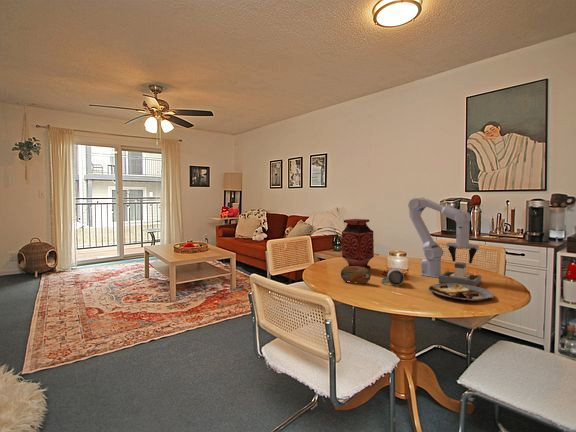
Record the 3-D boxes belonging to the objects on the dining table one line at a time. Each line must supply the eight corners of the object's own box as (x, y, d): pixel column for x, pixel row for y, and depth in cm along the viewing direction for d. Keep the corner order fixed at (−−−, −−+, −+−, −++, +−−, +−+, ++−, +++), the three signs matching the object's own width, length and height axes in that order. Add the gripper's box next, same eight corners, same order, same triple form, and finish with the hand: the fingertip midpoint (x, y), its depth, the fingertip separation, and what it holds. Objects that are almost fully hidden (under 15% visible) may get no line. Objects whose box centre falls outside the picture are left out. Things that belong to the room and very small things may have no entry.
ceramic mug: (401, 281, 163) (401, 266, 162) (404, 286, 155) (404, 270, 154) (380, 281, 165) (380, 266, 165) (381, 285, 157) (381, 270, 157)
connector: (454, 281, 159) (454, 263, 158) (456, 279, 162) (457, 262, 161) (463, 282, 156) (463, 264, 155) (465, 281, 159) (465, 263, 158)
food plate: (457, 306, 126) (457, 297, 125) (417, 290, 148) (417, 283, 148) (505, 300, 133) (505, 292, 133) (460, 286, 155) (460, 279, 155)
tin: (340, 281, 165) (340, 265, 164) (342, 280, 167) (342, 264, 167) (370, 284, 158) (370, 268, 158) (371, 283, 161) (371, 266, 161)
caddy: (438, 282, 160) (438, 275, 159) (446, 277, 168) (446, 270, 168) (474, 288, 149) (474, 280, 149) (481, 283, 157) (481, 275, 157)
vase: (356, 265, 202) (355, 218, 201) (374, 269, 192) (374, 219, 190) (341, 268, 194) (341, 219, 192) (359, 272, 183) (359, 220, 181)
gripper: (481, 235, 159) (480, 262, 159) (450, 233, 169) (449, 259, 170) (477, 237, 154) (476, 265, 154) (445, 235, 164) (444, 261, 165)
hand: (462, 262), depth 162 cm, fingers open, 7 cm apart
